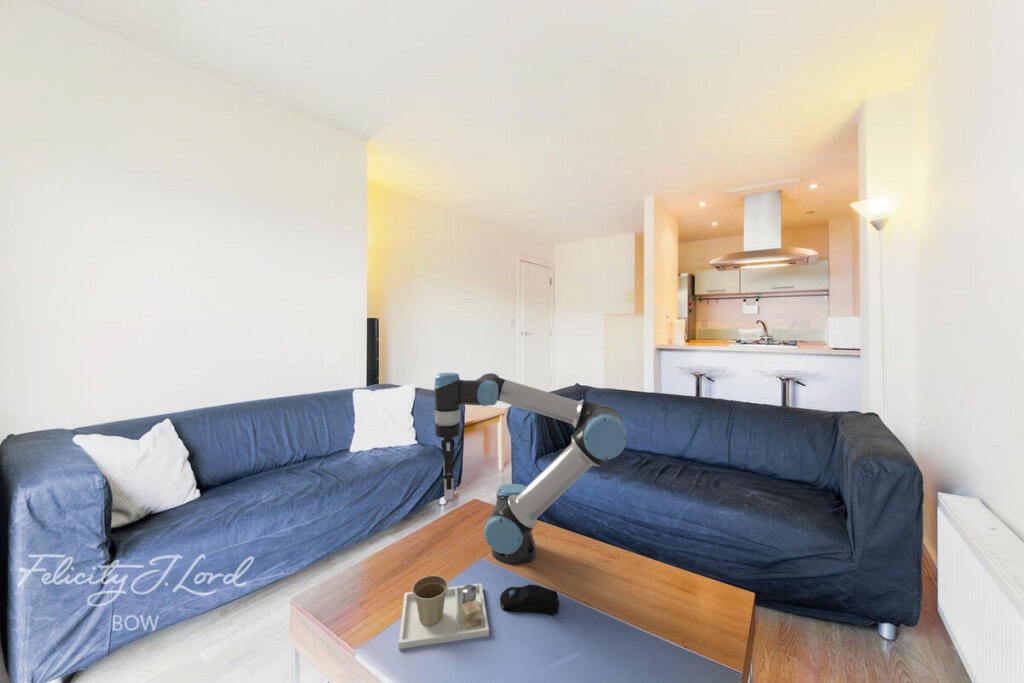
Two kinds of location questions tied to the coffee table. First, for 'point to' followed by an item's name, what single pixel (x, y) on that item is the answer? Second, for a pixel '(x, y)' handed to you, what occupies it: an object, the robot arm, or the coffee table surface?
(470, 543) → the coffee table surface
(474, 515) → the coffee table surface
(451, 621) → the tray
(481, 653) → the coffee table surface
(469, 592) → the metal part
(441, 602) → the flower pot
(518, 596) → the toy car
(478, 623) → the beech part
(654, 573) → the coffee table surface
